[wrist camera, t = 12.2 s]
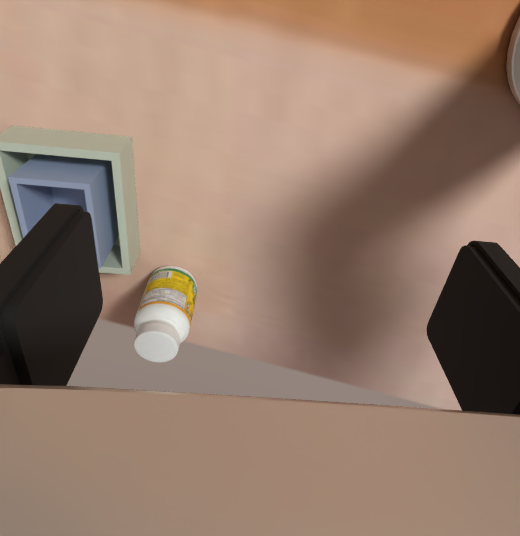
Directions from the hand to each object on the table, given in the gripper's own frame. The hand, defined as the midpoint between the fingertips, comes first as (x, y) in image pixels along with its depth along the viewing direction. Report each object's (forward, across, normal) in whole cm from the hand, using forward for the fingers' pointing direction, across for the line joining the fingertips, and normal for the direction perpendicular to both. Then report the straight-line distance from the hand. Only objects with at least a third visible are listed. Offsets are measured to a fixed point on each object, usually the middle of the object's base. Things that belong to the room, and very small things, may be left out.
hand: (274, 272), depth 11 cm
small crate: (+28, +16, +12) cm, 35 cm away
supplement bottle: (+28, +8, +22) cm, 37 cm away
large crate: (+29, +16, +12) cm, 35 cm away
